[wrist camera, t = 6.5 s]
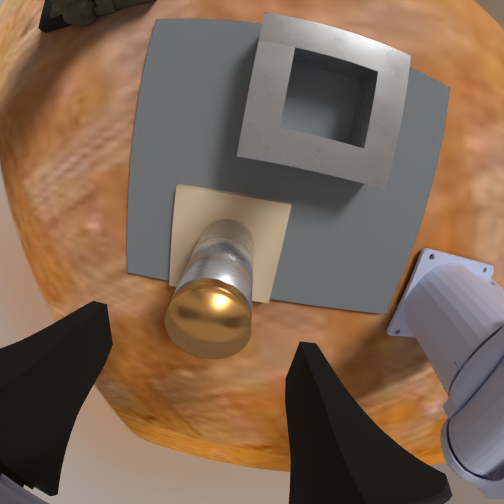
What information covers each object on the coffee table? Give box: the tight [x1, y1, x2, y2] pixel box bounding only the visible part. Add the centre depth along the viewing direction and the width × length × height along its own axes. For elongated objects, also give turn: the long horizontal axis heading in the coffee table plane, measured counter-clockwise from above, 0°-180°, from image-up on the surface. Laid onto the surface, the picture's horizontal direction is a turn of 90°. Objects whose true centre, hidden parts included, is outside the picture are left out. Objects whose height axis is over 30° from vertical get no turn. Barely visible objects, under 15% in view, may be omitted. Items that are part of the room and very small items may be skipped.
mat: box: [127, 19, 450, 314], centre depth 17 cm, size 20×18×1 cm
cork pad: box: [169, 184, 291, 303], centre depth 18 cm, size 7×7×1 cm
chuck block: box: [237, 13, 411, 190], centre depth 13 cm, size 8×8×3 cm
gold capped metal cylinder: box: [165, 219, 254, 359], centre depth 14 cm, size 3×3×8 cm
